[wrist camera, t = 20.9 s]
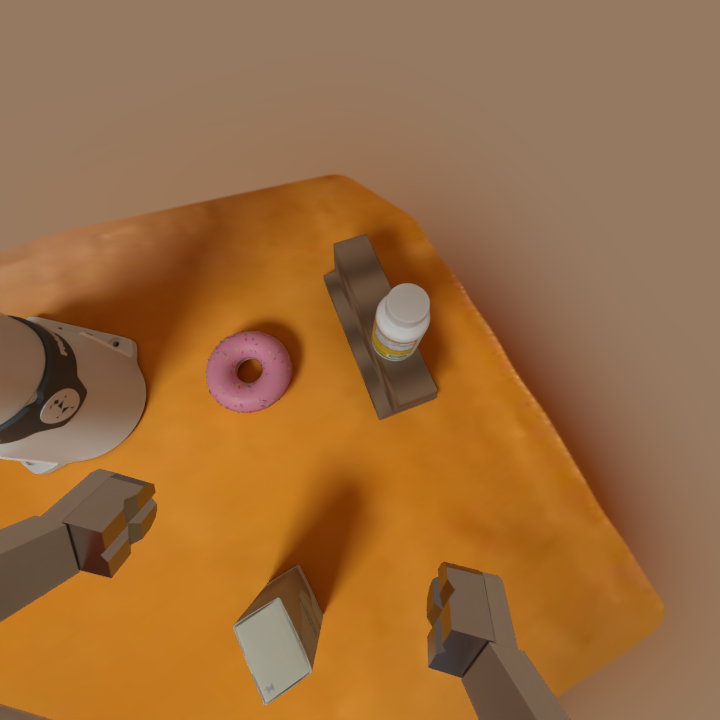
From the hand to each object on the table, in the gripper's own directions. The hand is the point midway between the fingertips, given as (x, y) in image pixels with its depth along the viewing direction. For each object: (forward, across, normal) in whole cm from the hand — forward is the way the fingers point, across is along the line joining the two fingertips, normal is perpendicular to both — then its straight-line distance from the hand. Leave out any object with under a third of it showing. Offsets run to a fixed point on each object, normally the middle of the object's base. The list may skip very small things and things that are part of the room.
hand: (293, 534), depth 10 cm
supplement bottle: (+32, -3, +7) cm, 33 cm away
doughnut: (+33, +14, +18) cm, 40 cm away
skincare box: (+16, +1, +34) cm, 38 cm away
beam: (+40, -1, +10) cm, 41 cm away
